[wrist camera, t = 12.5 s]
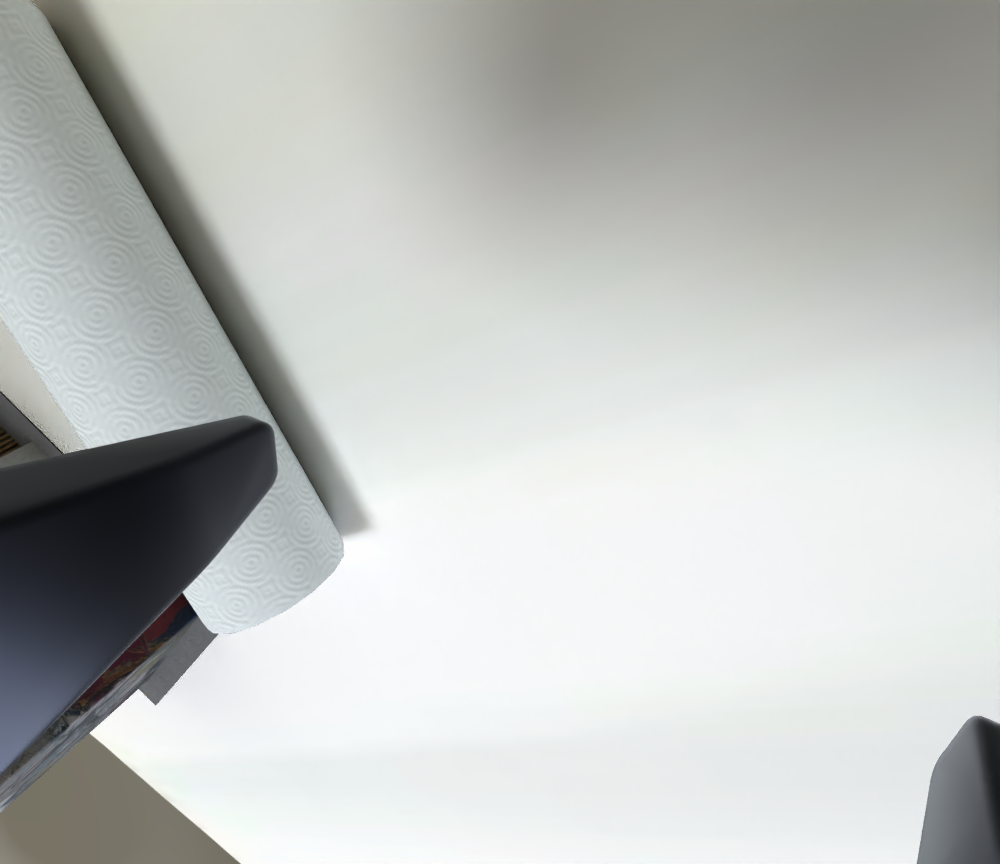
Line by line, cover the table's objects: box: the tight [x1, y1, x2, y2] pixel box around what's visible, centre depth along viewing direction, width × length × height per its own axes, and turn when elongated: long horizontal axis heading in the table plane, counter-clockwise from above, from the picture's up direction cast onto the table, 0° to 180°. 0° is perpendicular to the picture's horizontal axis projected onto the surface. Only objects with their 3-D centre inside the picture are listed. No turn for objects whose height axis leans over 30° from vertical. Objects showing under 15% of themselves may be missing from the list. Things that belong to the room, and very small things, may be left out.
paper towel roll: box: [0, 0, 344, 634], centre depth 27 cm, size 7×6×21 cm
